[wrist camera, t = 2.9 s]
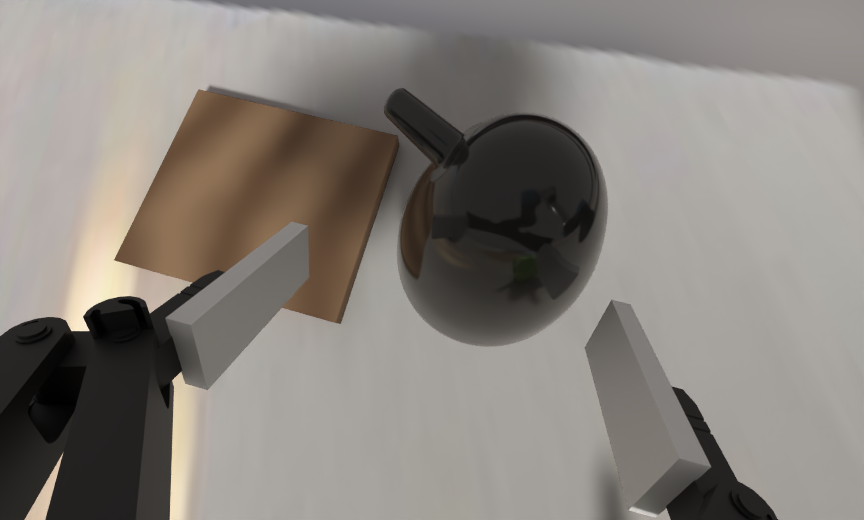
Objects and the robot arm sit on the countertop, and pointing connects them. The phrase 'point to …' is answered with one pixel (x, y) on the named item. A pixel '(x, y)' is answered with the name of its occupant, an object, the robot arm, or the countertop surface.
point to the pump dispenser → (497, 222)
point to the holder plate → (263, 196)
